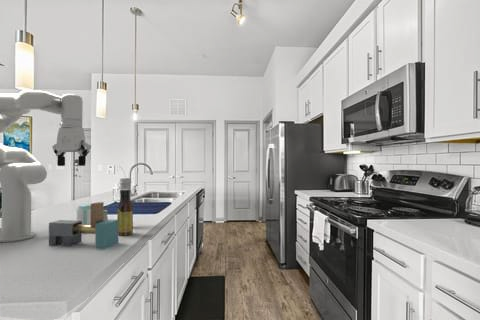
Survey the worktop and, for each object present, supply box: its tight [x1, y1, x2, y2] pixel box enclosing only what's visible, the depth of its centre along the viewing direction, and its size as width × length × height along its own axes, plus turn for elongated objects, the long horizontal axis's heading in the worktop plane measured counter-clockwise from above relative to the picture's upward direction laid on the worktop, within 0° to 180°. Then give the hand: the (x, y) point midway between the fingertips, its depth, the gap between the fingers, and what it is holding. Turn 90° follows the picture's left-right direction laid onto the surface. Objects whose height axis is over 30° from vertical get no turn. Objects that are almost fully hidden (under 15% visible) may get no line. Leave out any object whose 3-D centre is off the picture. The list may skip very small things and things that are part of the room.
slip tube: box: [73, 201, 105, 235], centre depth 101 cm, size 16×4×12 cm, turn 81°
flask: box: [103, 209, 109, 221], centre depth 120 cm, size 7×7×10 cm
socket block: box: [94, 219, 119, 250], centre depth 100 cm, size 4×8×9 cm, turn 171°
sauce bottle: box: [116, 188, 134, 237], centre depth 116 cm, size 6×6×20 cm
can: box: [76, 203, 91, 225], centre depth 123 cm, size 7×7×12 cm
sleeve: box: [48, 219, 83, 247], centre depth 103 cm, size 10×6×8 cm, turn 81°
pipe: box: [118, 166, 132, 199], centre depth 129 cm, size 6×6×30 cm
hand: (71, 165), depth 110 cm, fingers open, 9 cm apart
